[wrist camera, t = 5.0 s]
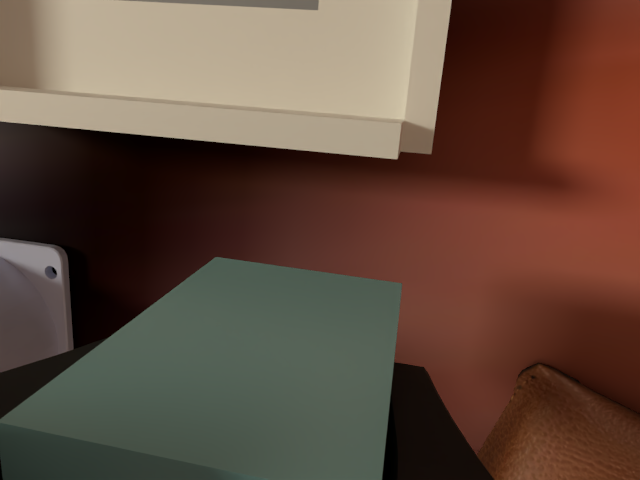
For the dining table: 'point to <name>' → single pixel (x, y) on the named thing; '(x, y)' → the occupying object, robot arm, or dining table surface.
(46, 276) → the robot arm
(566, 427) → the sunglasses case
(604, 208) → the dining table surface
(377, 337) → the block
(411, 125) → the walled box
